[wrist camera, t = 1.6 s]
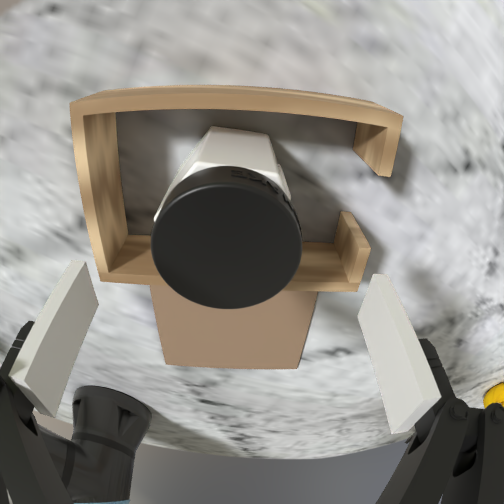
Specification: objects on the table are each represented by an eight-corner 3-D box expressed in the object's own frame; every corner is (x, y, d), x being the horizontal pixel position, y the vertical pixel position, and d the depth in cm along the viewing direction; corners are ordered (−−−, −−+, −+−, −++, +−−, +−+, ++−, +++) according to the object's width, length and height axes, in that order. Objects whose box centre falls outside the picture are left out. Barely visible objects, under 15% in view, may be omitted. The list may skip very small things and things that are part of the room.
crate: (340, 251, 31) (357, 291, 27) (120, 243, 30) (100, 281, 25) (371, 101, 23) (403, 116, 18) (103, 90, 22) (69, 102, 17)
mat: (296, 367, 42) (296, 368, 42) (166, 362, 41) (165, 364, 41) (324, 263, 32) (324, 265, 32) (145, 256, 31) (145, 258, 31)
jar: (294, 202, 28) (321, 293, 18) (209, 230, 30) (194, 327, 20) (260, 108, 23) (273, 149, 14) (167, 144, 25) (117, 210, 15)
